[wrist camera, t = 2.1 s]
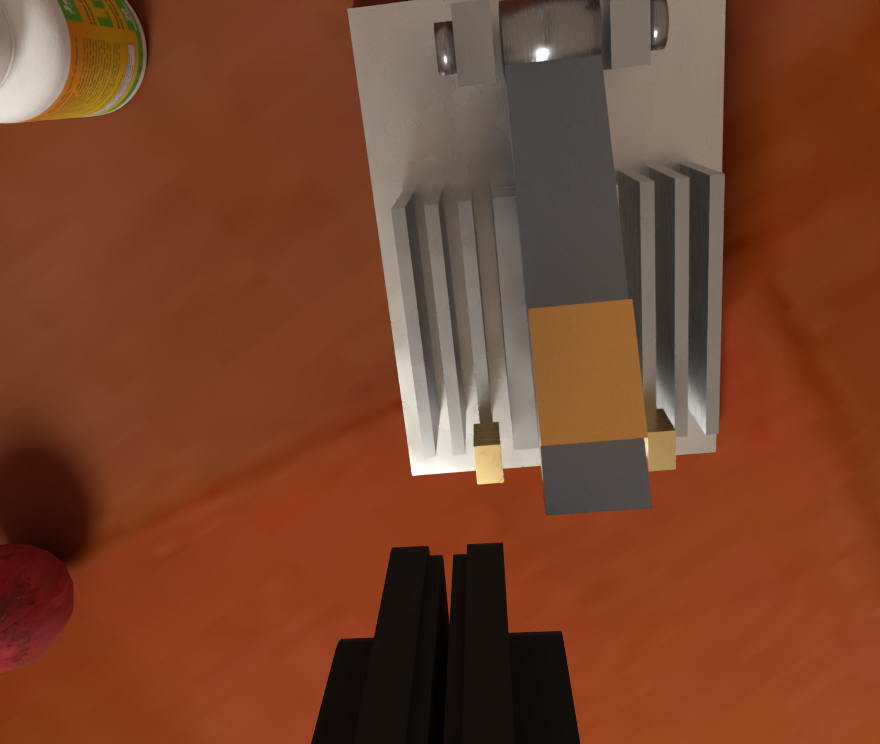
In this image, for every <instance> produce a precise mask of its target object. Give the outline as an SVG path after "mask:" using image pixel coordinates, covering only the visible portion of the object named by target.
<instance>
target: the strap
mask: <svg viewBox="0 0 880 744" xmlns="http://www.w3.org/2000/svg"><path fill="white" fill-rule="evenodd" d="M498 10H499V30H500V45H501V57H502V68H503V76H504V82H505V90H506V101H507V111H508V122H509V133H510V143H511V154H512V165H513V175H514V186H515V197H516V207H517V218H518V229H519V239H520V250H521V261H522V271H523V282H524V293H525V303H526V314H527V325H528V335H529V346H530V357H531V367H532V378H533V389H534V399H535V410H536V421H537V431H538V442H539V453H540V463H541V474H542V485H543V495H544V506H545V514H546V515H560V514H574V513H587V512H601V511H615V510H629V509H643V508H652V504H651V495H650V486H649V477H648V468H647V459H646V450H645V441H644V438H647V437H648V433H647V424H646V415H645V406H644V397H643V388H642V379H641V370H640V361H639V353H638V344H637V335H636V326H635V317H634V308H633V299H629V298H628V289H627V280H626V271H625V262H624V253H623V244H622V235H621V226H620V217H619V208H618V199H617V190H616V181H615V172H614V163H613V154H612V145H611V136H610V127H609V119H608V110H607V101H606V92H605V83H604V74H603V65H602V56H601V51H602V22H601V9H600V1H599V0H501V1H499V2H498Z"/></svg>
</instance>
